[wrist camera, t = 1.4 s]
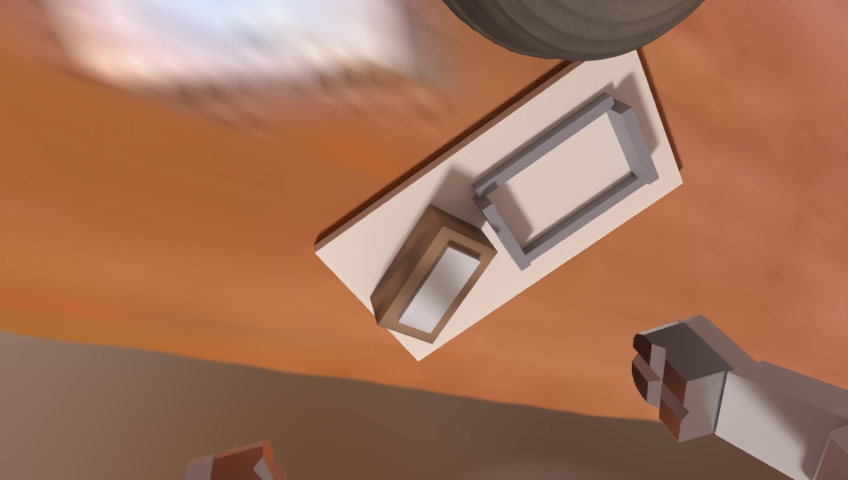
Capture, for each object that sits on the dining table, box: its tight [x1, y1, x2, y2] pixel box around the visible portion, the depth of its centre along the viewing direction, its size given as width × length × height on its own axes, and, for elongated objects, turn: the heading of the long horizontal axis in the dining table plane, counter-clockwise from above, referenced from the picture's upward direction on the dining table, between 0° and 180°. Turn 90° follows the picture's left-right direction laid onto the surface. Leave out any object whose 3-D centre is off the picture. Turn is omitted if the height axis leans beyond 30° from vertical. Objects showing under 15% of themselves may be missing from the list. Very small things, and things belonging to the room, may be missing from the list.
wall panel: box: [314, 50, 683, 361], centre depth 45 cm, size 30×16×4 cm, turn 122°
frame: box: [370, 204, 498, 344], centre depth 44 cm, size 10×6×4 cm, turn 147°
